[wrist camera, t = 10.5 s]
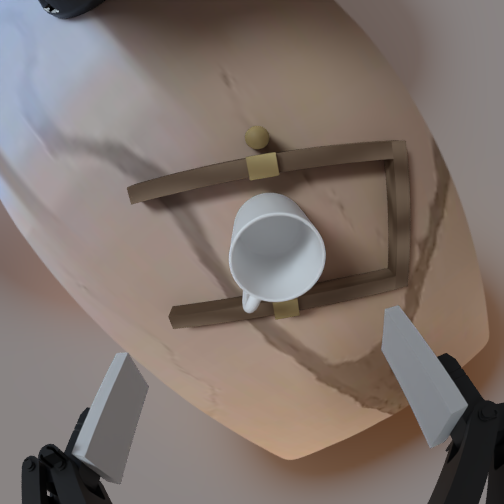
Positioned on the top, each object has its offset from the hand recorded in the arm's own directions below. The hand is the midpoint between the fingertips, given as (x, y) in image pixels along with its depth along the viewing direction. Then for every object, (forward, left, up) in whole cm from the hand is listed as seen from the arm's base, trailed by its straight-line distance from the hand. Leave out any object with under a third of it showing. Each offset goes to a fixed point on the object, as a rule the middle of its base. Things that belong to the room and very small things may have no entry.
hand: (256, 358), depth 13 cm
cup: (+2, +1, -22) cm, 22 cm away
